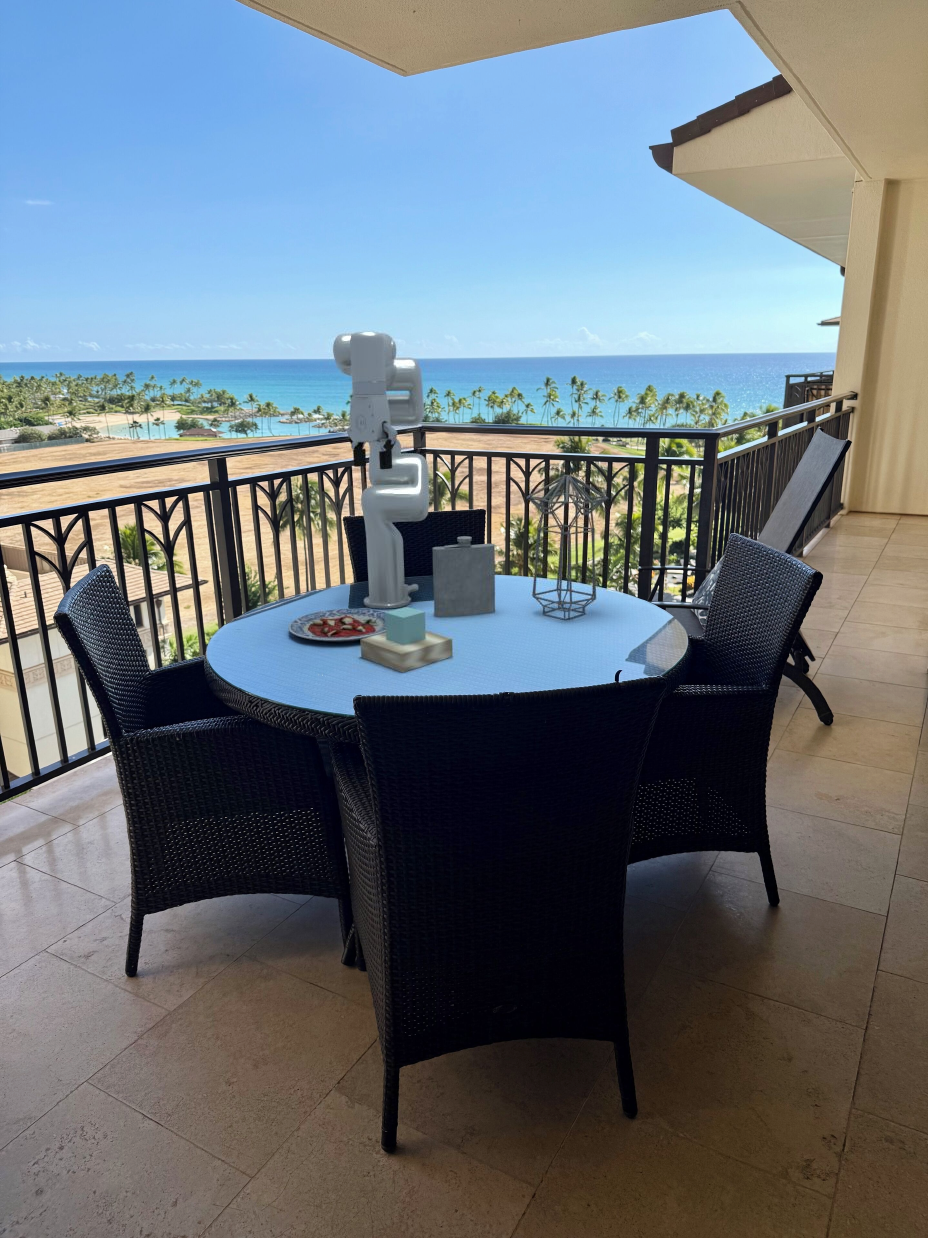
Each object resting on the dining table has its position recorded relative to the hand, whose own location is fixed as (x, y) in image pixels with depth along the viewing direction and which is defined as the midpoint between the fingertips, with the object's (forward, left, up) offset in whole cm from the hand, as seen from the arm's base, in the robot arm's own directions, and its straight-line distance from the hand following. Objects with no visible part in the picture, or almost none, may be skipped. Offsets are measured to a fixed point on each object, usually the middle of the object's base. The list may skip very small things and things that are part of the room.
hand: (372, 467), depth 186 cm
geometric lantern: (-40, +25, -38) cm, 61 cm away
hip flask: (-22, +7, -38) cm, 45 cm away
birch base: (+10, +22, -38) cm, 45 cm away
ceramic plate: (+8, -4, -39) cm, 40 cm away
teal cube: (+10, +22, -34) cm, 42 cm away
